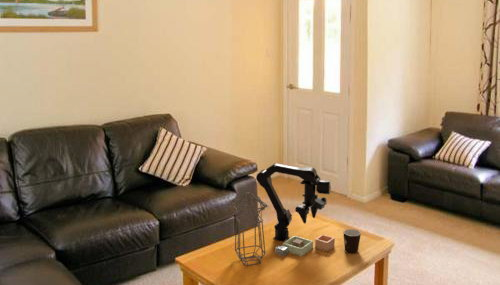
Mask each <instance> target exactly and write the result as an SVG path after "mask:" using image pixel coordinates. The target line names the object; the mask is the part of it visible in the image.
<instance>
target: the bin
mask: <svg viewBox="0 0 500 285" xmlns="http://www.w3.org/2000/svg"><path fill="white" fill-rule="evenodd" d="M296 239H299V240H302V241H303V247H302V248H299V247H295V246H292V242H293V241H294V240H296ZM282 246H285V247H288V254H293V255H295V256H299V257H303V256H304V255H305V254H308V252H310V251H311V250H312V249H314V241H313V240H311V239H307V238H303V237H300V236H297V235H293V236H292V237H290V238H288V239H287V240H285V241H283V242H282Z"/></svg>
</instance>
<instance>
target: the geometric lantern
mask: <svg viewBox="0 0 500 285" xmlns="http://www.w3.org/2000/svg"><path fill="white" fill-rule="evenodd" d="M254 201H257V202H258V203H259V207H258V208H255V207H254V204H253V203H254ZM233 202H234V203H233ZM245 202H247V204H245ZM229 204H230V206H231V209H232V210H233V212H234V214H235V233H234V236H235V237H234V252H235V254H236V255H237V257H238V258H239V260H240V261H241V260H242V261H241V262H242V263H243V265H244V266H245V265H246V267H248V265H249V266H255V265H260V264H262V259H263V258H264V257H265V256H266V254H267V253H266V246H265V234H264V224H263V222H264V219H262V217H263V211H265V210H266V208H268V207H269V205H268V204H267V203H265V202H264V201H263V200H262V199H261V197H260V196H258V195H255V194H253V193H252V192H249V191H248V192H245V193H244V194H242V195H240V196H237V197H235V198H233V199H231V200H230V201H229ZM250 205H251V207H252V208H251V207H250ZM244 207H247V208H244ZM256 210H258V211H256ZM244 211H245V212H244ZM246 211H247V213H246ZM250 211H251V212H252V213H251V214H250ZM238 212H239V214H238ZM242 213H243V214H244V215H241V214H242ZM250 216H253V217H254V219H253V220H254V222H247V223H244V222H245V221H246V219H247V218H248V217H250ZM240 217H245V218H244V220H243V221H242V222H241V220H240ZM256 220H257V221H256ZM252 224H254V245H248V246H245V238H244V237H245V232H244V225H245V226H246V225H252ZM256 224H257V225H256ZM256 228H258V229H257V230H258V241H259V245H257V236H256V235H257V231H256ZM241 230H242V232H241ZM261 231H262V232H261ZM241 233H242V247H241ZM262 240H263V241H262ZM252 247H253V248H254V249H253V251H252V252H247V253H245V252H246V250H245V249H247V248H252ZM256 247H258V248H257V250H256ZM241 249H243V250H242V251H243V253H242V252H241ZM260 249H261V256H260V255H259V254H258V252H259V250H260ZM249 254H252V255H250V256H249ZM246 255H248V257H247V256H246ZM246 257H247V258H246ZM248 259H251V260H248ZM253 261H259V262H258V263H250V264H249V262H253Z"/></svg>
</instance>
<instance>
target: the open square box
mask: <svg viewBox="0 0 500 285" xmlns="http://www.w3.org/2000/svg"><path fill="white" fill-rule="evenodd" d="M335 241H336V240H335V237H333V236H329V235H326V234H321V235H319V236H318V237H316V238H315V240H314V242H315V243H314V249H315V250H316V249H317V250H320V251H323V252H326V253H328V252H329V251H331V250H333V248H335Z"/></svg>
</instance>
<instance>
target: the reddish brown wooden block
mask: <svg viewBox="0 0 500 285" xmlns="http://www.w3.org/2000/svg"><path fill="white" fill-rule="evenodd" d="M274 250H275V251H274V254H275V255H278V256H281V257H286V256H287V255H288V254H289V252H288V247H285V246H283V245H281V244H279V245H277V246H275V248H274Z"/></svg>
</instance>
